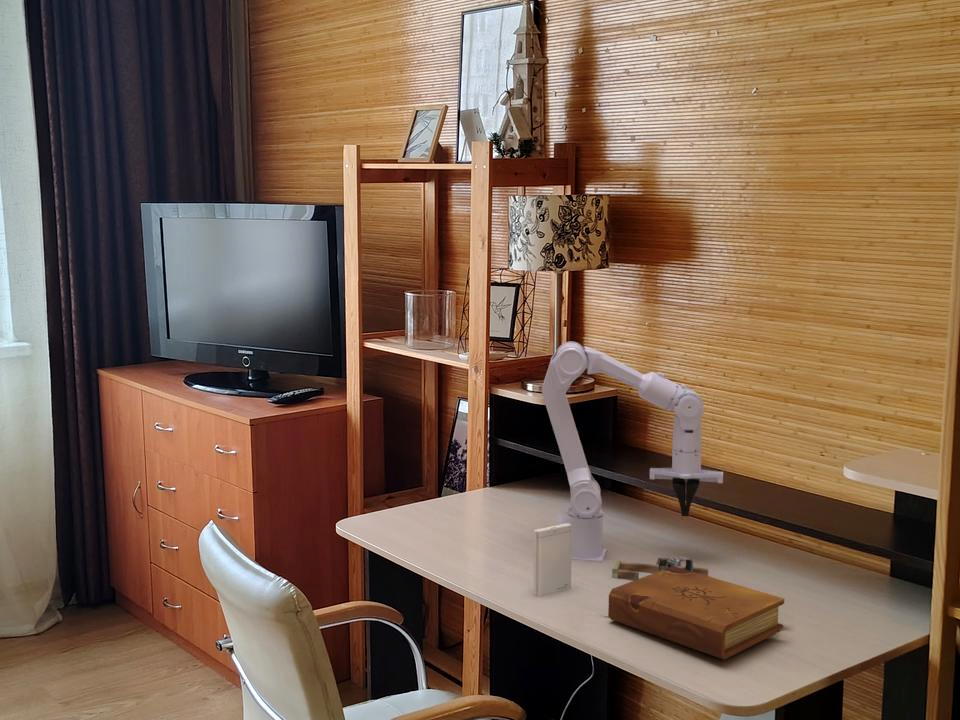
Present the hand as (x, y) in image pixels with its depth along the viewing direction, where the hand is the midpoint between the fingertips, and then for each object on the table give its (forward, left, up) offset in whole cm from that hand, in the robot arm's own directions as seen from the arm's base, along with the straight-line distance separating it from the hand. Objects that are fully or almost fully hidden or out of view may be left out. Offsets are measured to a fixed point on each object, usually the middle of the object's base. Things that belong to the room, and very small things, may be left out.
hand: (685, 515), depth 215 cm
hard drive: (-23, -25, -10) cm, 35 cm away
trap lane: (-4, -12, -9) cm, 16 cm away
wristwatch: (0, -12, -10) cm, 16 cm away
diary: (+3, -35, -10) cm, 36 cm away
